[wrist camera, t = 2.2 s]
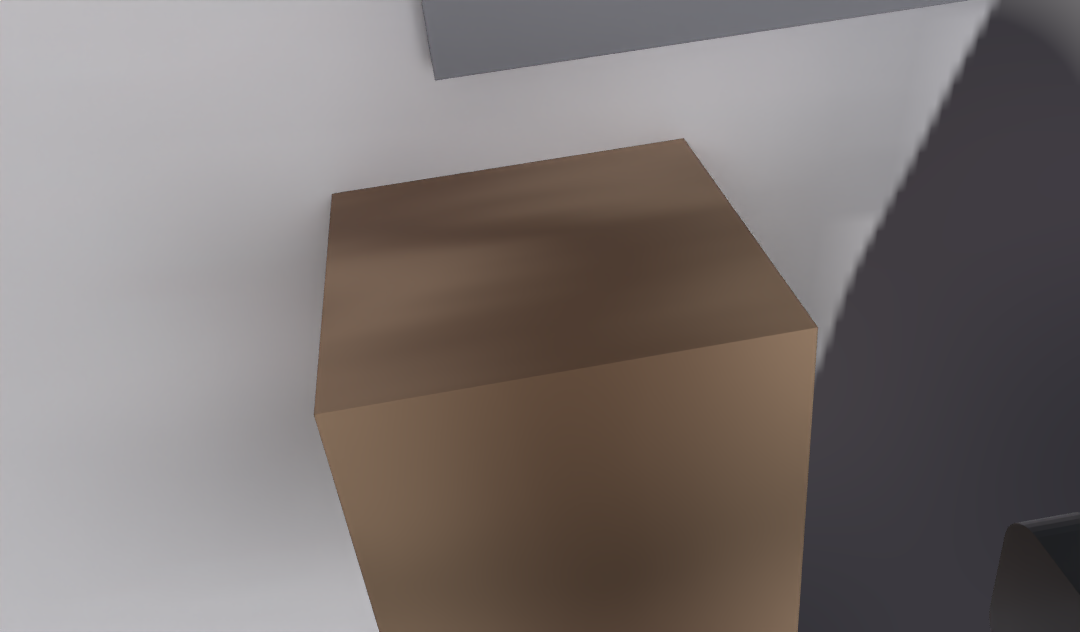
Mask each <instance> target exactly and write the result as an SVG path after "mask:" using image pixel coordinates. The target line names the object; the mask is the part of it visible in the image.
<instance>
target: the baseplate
mask: <svg viewBox="0 0 1080 632" xmlns="http://www.w3.org/2000/svg"><path fill="white" fill-rule="evenodd" d="M960 1H967V0H422V6H423V12H424V18H425V24H426V30H427V36H428V42H429V48H430V54H431V59H432V65H433V71H434V77H435V80H442V79H448V78H455V77H462V76H468V75H475V74H482V73H488V72H495V71H501V70H508V69H515V68H521V67H528V66H535V65H541V64H548V63H555V62H561V61H568V60H575V59H581V58H588V57H595V56H601V55H608V54H615V53H621V52H628V51H635V50H641V49H648V48H654V47H661V46H668V45H674V44H681V43H688V42H694V41H701V40H708V39H714V38H721V37H728V36H734V35H741V34H748V33H754V32H761V31H768V30H774V29H781V28H787V27H794V26H801V25H807V24H814V23H821V22H827V21H834V20H841V19H847V18H854V17H861V16H867V15H874V14H881V13H887V12H894V11H901V10H907V9H914V8H921V7H927V6H934V5H940V4H947V3H954V2H960Z"/></svg>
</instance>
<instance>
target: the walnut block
mask: <svg viewBox="0 0 1080 632" xmlns="http://www.w3.org/2000/svg"><path fill="white" fill-rule="evenodd" d="M817 333H818V327H817V325H816V324H815V323H814V321H813V320H812V318H811V317H810V316H809V314H808V313H807V311H806V310H805V309H804V307H803V306H802V304H801V303H800V302H799V300H798V299H797V297H796V296H795V294H794V293H793V292H792V290H791V289H790V287H789V286H788V285H787V283H786V282H785V280H784V279H783V278H782V276H781V275H780V273H779V272H778V271H777V269H776V268H775V266H774V265H773V263H772V262H771V261H770V259H769V258H768V256H767V255H766V254H765V252H764V251H763V249H762V248H761V247H760V245H759V244H758V242H757V241H756V240H755V238H754V237H753V235H752V234H751V233H750V231H749V230H748V228H747V227H746V225H745V224H744V223H743V221H742V220H741V218H740V217H739V216H738V214H737V213H736V211H735V210H734V209H733V207H732V206H731V204H730V203H729V202H728V200H727V199H726V197H725V196H724V194H723V193H722V192H721V190H720V189H719V187H718V186H717V185H716V183H715V182H714V180H713V179H712V178H711V176H710V175H709V173H708V172H707V171H706V169H705V168H704V166H703V165H702V164H701V162H700V161H699V159H698V158H697V156H696V155H695V154H694V152H693V151H692V149H691V148H690V147H689V145H688V144H687V142H686V141H685V140H684V138H683V139H676V140H670V141H664V142H657V143H651V144H645V145H638V146H632V147H626V148H619V149H613V150H607V151H600V152H594V153H588V154H581V155H575V156H569V157H562V158H556V159H550V160H543V161H537V162H531V163H524V164H518V165H512V166H505V167H499V168H493V169H486V170H480V171H474V172H467V173H461V174H455V175H448V176H442V177H436V178H429V179H423V180H417V181H410V182H404V183H398V184H391V185H385V186H379V187H372V188H366V189H360V190H353V191H347V192H341V193H334V194H332V200H331V212H330V224H329V237H328V249H327V261H326V273H325V286H324V298H323V310H322V322H321V334H320V347H319V359H318V371H317V383H316V395H315V408H314V417H315V420H316V423H317V427H318V430H319V433H320V436H321V440H322V443H323V446H324V450H325V453H326V456H327V460H328V463H329V466H330V470H331V473H332V476H333V480H334V483H335V486H336V489H337V493H338V496H339V499H340V503H341V506H342V509H343V513H344V516H345V519H346V523H347V526H348V529H349V533H350V536H351V539H352V543H353V546H354V549H355V552H356V556H357V559H358V562H359V566H360V569H361V572H362V576H363V579H364V582H365V586H366V589H367V592H368V596H369V599H370V602H371V605H372V609H373V612H374V615H375V619H376V622H377V625H378V629H379V632H798V617H799V602H800V588H801V571H802V557H803V542H804V527H805V513H806V498H807V497H806V496H807V483H808V468H809V453H810V438H811V423H812V408H813V407H812V406H813V393H814V378H815V363H816V348H817Z"/></svg>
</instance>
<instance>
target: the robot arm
mask: <svg viewBox="0 0 1080 632" xmlns="http://www.w3.org/2000/svg"><path fill="white" fill-rule="evenodd" d="M989 619H990V627H991V632H1080V512H1074V513H1070V514H1063V515H1058V516H1053V517H1047V518H1042V519H1036V520H1030V521H1025V522H1020V523H1014V524H1012V525H1010V526H1009V527H1008V529H1007V531H1006V534H1005V537H1004V542H1003V547H1002V552H1001V556H1000V561H999V566H998V571H997V576H996V580H995V585H994V590H993V595H992V600H991V605H990V611H989Z"/></svg>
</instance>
